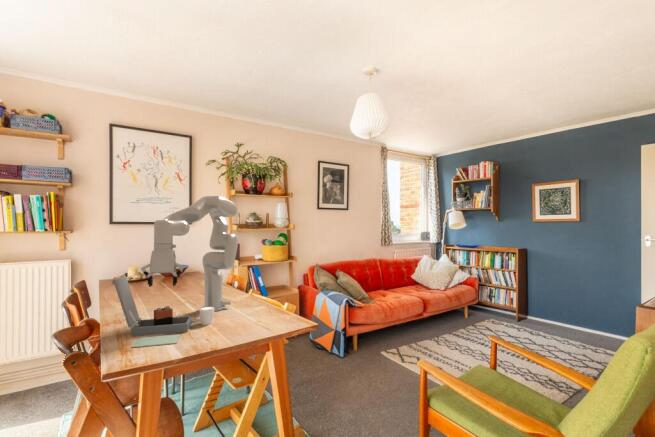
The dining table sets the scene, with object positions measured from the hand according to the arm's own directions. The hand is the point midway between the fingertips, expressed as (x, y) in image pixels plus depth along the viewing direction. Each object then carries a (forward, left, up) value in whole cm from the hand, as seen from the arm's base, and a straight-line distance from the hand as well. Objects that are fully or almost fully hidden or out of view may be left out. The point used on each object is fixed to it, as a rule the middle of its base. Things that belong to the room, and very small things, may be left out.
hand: (162, 285), depth 143 cm
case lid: (+14, 0, -6) cm, 15 cm away
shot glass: (-18, -5, -20) cm, 28 cm away
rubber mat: (-1, +15, -20) cm, 25 cm away
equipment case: (0, 0, -20) cm, 20 cm away
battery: (0, 0, -20) cm, 20 cm away
